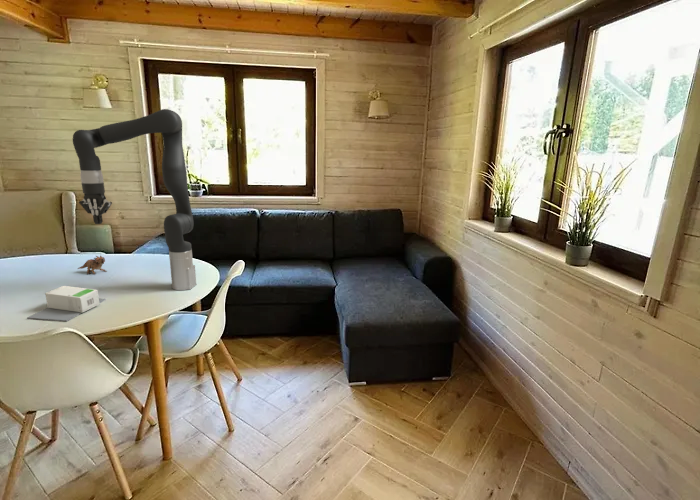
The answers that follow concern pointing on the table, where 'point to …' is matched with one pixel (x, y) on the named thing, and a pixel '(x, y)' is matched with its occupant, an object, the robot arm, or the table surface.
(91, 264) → the dinosaur figurine
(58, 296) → the skincare box
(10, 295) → the table surface
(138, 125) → the robot arm
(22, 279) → the table surface
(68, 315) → the slate mat
